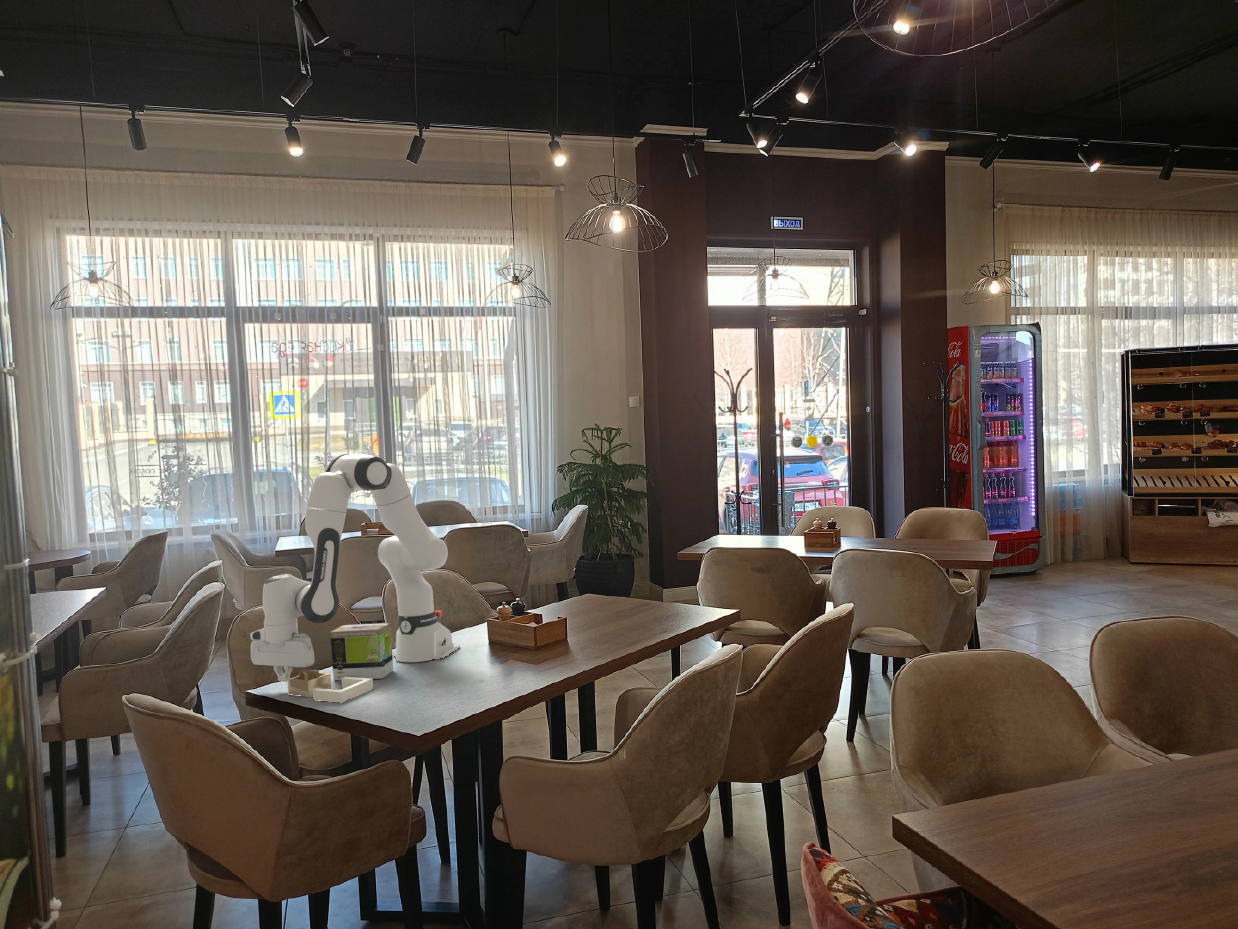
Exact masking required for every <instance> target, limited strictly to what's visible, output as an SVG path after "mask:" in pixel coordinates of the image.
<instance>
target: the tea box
mask: <svg viewBox="0 0 1238 929" xmlns="http://www.w3.org/2000/svg"><path fill="white" fill-rule="evenodd" d="M391 632H392V631H391V623H390V622H383V623H382V622H381V623H360V624H344V625H341V626H339V627H337V628H336V629H333V630H332V631H330V632H329V634H330V635H329V636H330V637H329V639H330V649H331V664H332V674H333V681H342V678H343V677H357V678H371V679H373V680H376V679H378V680H379V679H382V680H383V679H384V678H385V677H386V676H389V674H390V673H392V672H393V671H394V660H393V659H394V655H393V646H392V644H393V643H392V633H391Z"/></svg>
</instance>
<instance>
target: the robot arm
mask: <svg viewBox="0 0 1238 929" xmlns="http://www.w3.org/2000/svg"><path fill="white" fill-rule="evenodd" d="M355 491H356V492H357V491H359V492H360V491H369V492H370V493H371V494H372V496H373V500H374V503H375V507H376V508H377V511H378V513H379V517H380V519H381V522H382V524H383V526H384V527H385V529H387V531H390V532H391V533H392V534H393V536H389V537H387V538H384V539H383V540H381V542H380V543H379V545H378V548H377V557H378V560H379V563H380V564H382V565H383V566H384V567H385V568H386V570H387V571H388V573H389V575H390V577H391V579H392V582H393V584H394V587H395V591H396V599H397V611H398V612H397V613H398V614H397V615H396V623H397V627H398V629H397V630H396V635H395V636H396V637H395V638H396V639H395V652H394V653H393V657H394V656H395V657H394V658H395V660H396V661H397V662H401V663H420V662H427V661H433V660H432V659H435V660H441V659H440V658H443V659H445V658H446V657H445V656H447V657H448V656H450V655H451V654H452V653H451V652H453V651H454V650H456V651H457V650H459V649H460V648H461V645H460V644H458V643H453V637H452V632H451V631H450V629H448V628H447V627H446V626H444V625H442V623H441V622H439V619H438V617H439V618H441V617H442V616H443V612H442V610H435V609H434V607H435V606H434V593H433V592H434V591H433V590H434V589H433V587H432V585H431V584H430V583H429V582H428V581H427V580H426V579H425V578H424V576H423V574H422V571H424V572H425V571H426V572H427V571H432V570H437V569H441V567H443V566H444V565H445V564H446V562H447V560H448V556H449V550H448V546H447V544H446V542H445V541H444V540H443V539H441V538H440V537H439V536H437V535H436V534H435V533H433V532H432V530H431V529H430V528H429V527H428V526H427V524H426V523H425V522H424V520H423V519H422V516H420V513H419V511H418V509H417V506H416V504H415V502H414V498H413V496H412V493H411V490H410V487H409V485H408V482H407V480H406V479H405V476H404V475H403V472H402V471H401V469H400V468H399V466H397V465H396V464H394V463H389V462H388V463H387V462H386V461H385V460H384V459H383V458H382V457H379V456H377V455H374V454H367V453H360V452H358V453H350V454H349V453H344V454H341V455H338V456H335V457H334V458H333V459H331V461H330V463H329V464H328V467H327V469H326V470H325V472H322V473H320V474H318V475H316V477H315V479H314V481H313V483H312V485H311V489H310V491H309V495H308V499H307V503H306V509H305V517H304V518H305V519H304V520H305V521H304V524H305V532H306V535H307V536H308V537H309V539H310V541H311V543H312V546H313V551H314V560H313V566H312V567H313V568H312V578H311V581H307V580H303V579H300V578H298V577H296V576H294V575H292V574H291V573H282V574H278V575H275V576H272V577H269V578H268V579H267V580H266V581H264V584H263V587H262V610H263V613H264V620H263V627H262V628H260V629H258V630H255V631H253V632H250V636H249V638H250V639H251V642H250V659H251V662H252V663H253V665H256V666H257V665H261V666H273V670H274V672H275V674H276V675H277V681H278V682H286V683H288V679H290V678H291V673H292V671H293V670H294V668H303V669H305V668H309V667H311V666H313V665H314V663H315V662H316V660H315V658H316V656H315V650H314V646H313V644H312V638H311V637H310V636H309V635H308V633H299V630H298V626H299V625H298V618H299V617H302V616H303V617H304V618H305V619H306V620H307V621H309V622H311V623H314V624H323V623H326V622H328V621H331V619H333V617H335V616H336V614H337V612H338V610H339V608H340V607H339V606H340V599H339V595H338V591H337V586H336V585H337V584H336V582H337V572H338V564H339V555H340V546H341V539H342V534H343V531H344V526H345V521H346V515H347V509H348V501H349V498H350V496H351V494H352V493H353V492H355ZM459 647H460V648H459ZM458 648H459V649H458ZM454 652H455V651H454ZM454 652H453V653H454ZM450 653H451V654H450ZM449 654H450V655H449ZM444 657H445V658H444Z"/></svg>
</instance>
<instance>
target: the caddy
mask: <svg viewBox="0 0 1238 929" xmlns="http://www.w3.org/2000/svg"><path fill="white" fill-rule="evenodd" d="M331 678H332V676H331V673H330V672H320V671H319V670H316V669H299V671H298V675H296V676H293V677H290V679H288V681H287V691H288V693H287V694H293V695H301V696H308V697H307V698H313V697H312V696H313V690H314V689H316V688H319V689H332V679H331Z"/></svg>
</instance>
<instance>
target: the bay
mask: <svg viewBox="0 0 1238 929" xmlns="http://www.w3.org/2000/svg"><path fill="white" fill-rule="evenodd" d="M373 682H374V679H371V678H357V677H343V678H342V680H341V689H332V688H331V689H319V688H316V689H314V690H313V697H312V698H313V699H314V700H321V701H328V702H327V703H332V702H341V703H340V704H343V703H342V702H344V701H346V700H348V699H350V700H353V699H354V698H357V697H358V696H361V695H363V693H364V694H366V693H368V692H370V691H372V689H373V690H374V683H373ZM342 688H344V689H342ZM329 701H330V702H329ZM331 701H332V702H331ZM348 701H349V700H348ZM346 702H347V701H346ZM344 703H345V702H344Z"/></svg>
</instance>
